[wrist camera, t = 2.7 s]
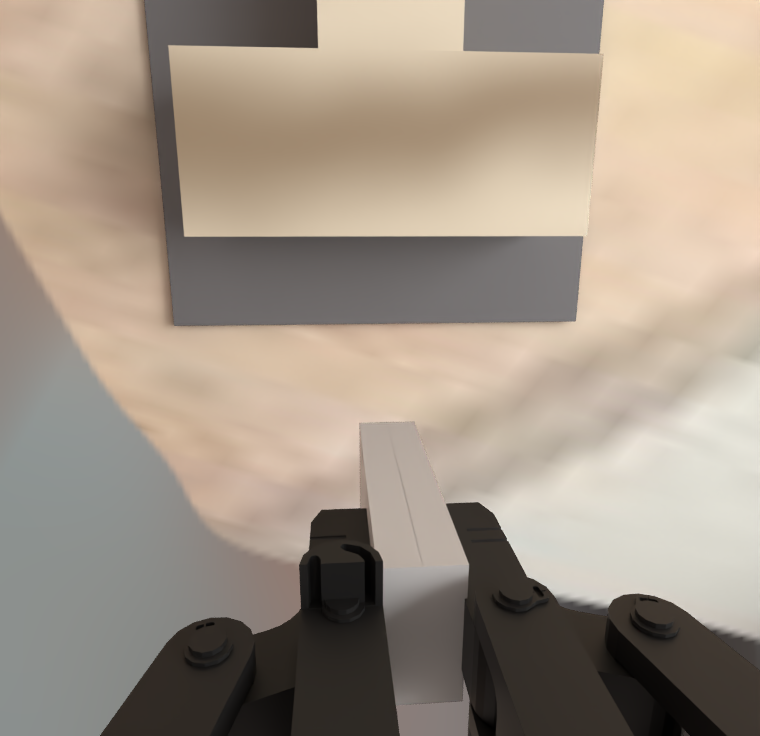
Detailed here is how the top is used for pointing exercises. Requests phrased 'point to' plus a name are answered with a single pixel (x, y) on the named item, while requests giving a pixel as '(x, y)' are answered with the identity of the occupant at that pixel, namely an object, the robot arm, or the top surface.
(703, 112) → the top surface
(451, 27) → the t block
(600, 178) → the top surface
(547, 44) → the mat
